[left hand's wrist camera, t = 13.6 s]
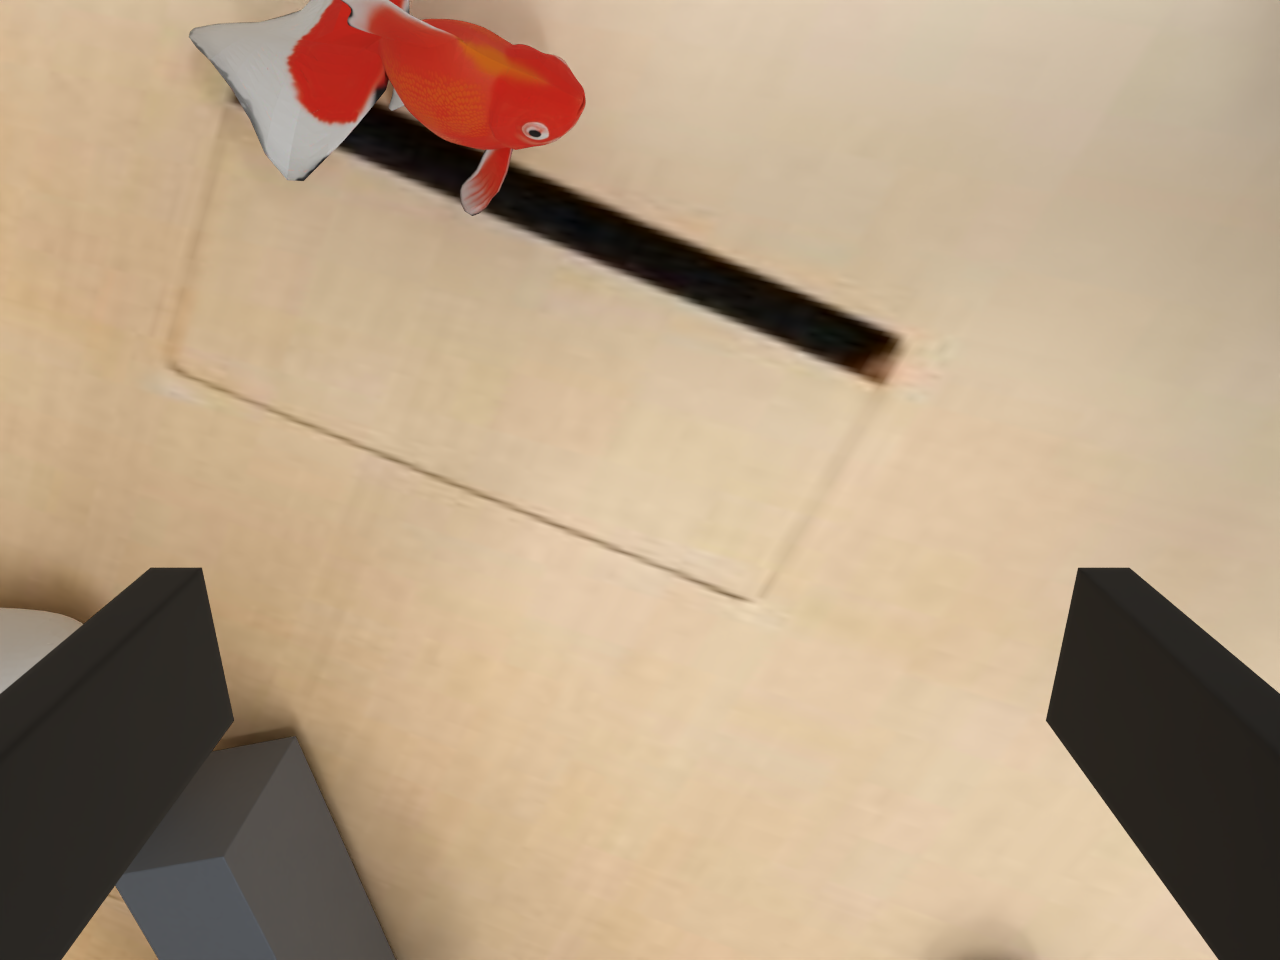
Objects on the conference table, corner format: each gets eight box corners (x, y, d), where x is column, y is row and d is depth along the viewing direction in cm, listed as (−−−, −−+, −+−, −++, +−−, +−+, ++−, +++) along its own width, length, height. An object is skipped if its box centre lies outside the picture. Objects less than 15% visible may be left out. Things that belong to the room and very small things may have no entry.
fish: (502, 333, 35) (387, 225, 25) (247, 165, 39) (63, 17, 29) (647, 125, 35) (588, -61, 26) (379, -21, 39) (240, -230, 30)
